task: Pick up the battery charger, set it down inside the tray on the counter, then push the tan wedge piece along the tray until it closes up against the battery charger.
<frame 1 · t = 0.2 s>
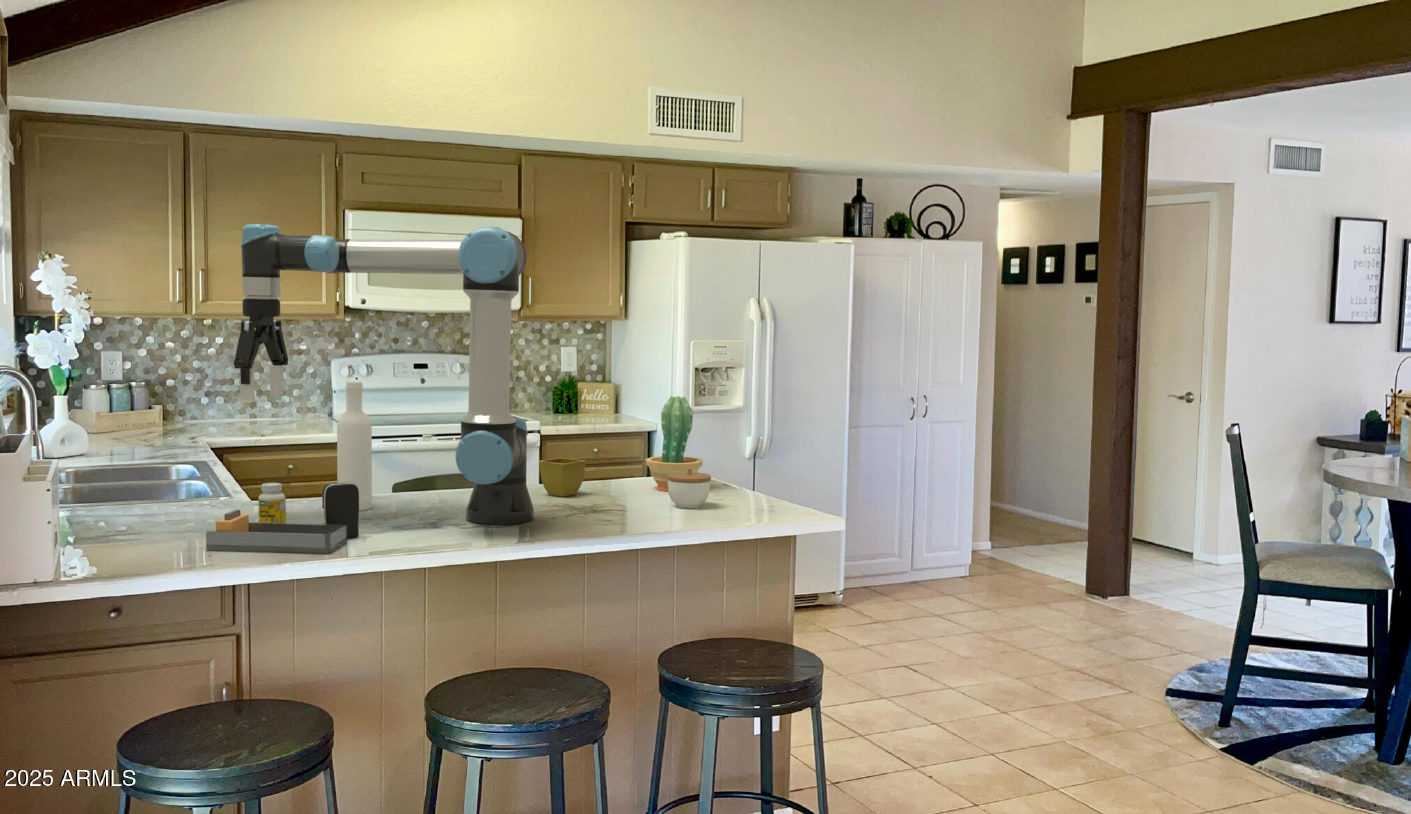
hand: (262, 397, 245), 28 cm above the worktop, fingers open, 13 cm apart
bottle: (354, 508, 269), on the worktop
flower pot: (561, 495, 294), on the worktop
lidded jar: (688, 507, 282), on the worktop
supplement bottle: (272, 529, 243), on the worktop
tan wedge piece: (232, 524, 226), point 4 cm above the worktop, slide at 0.0 cm
battery charger: (340, 538, 236), on the worktop
tray: (277, 546, 226), on the worktop
potted cactus: (673, 489, 307), on the worktop
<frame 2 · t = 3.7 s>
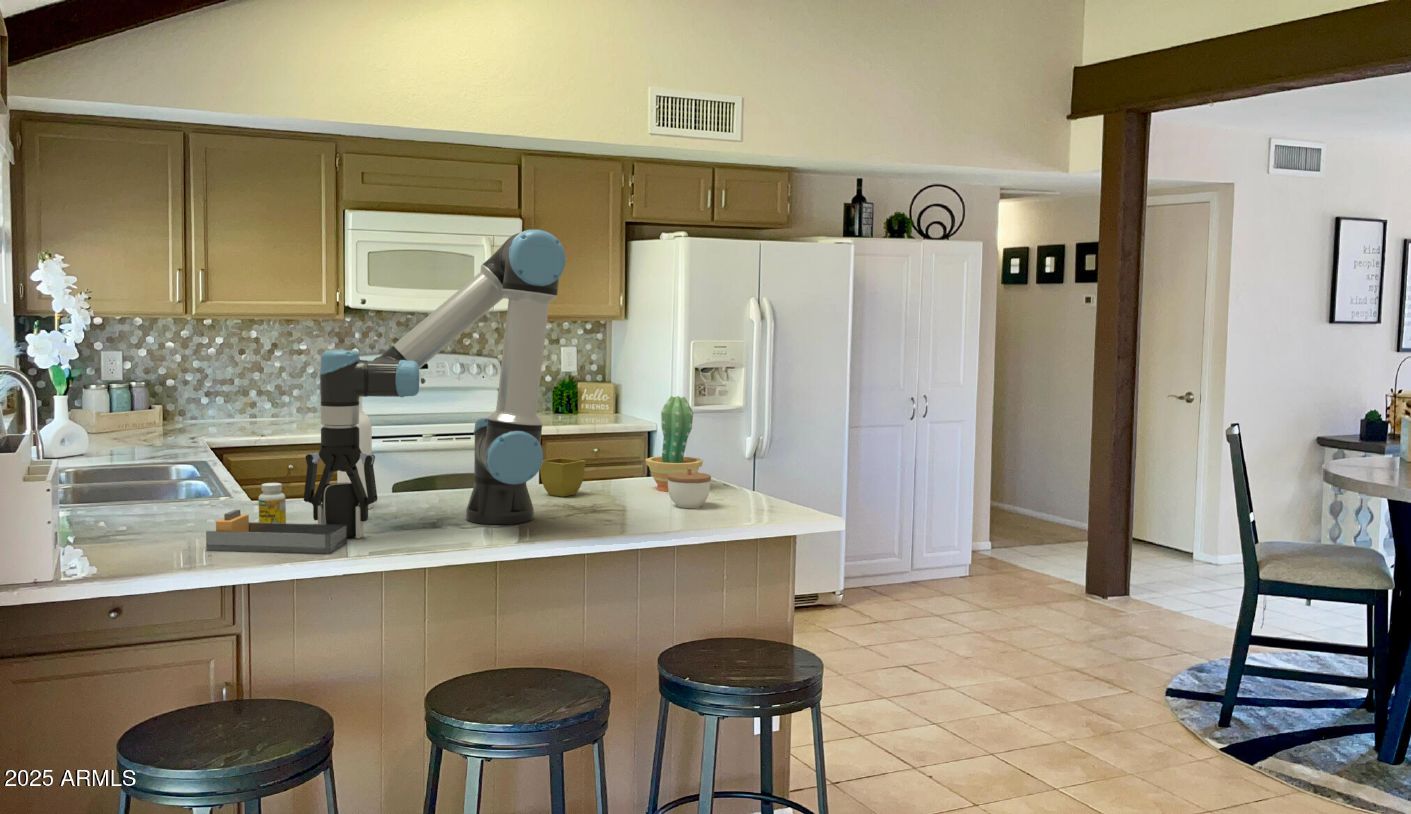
hand: (341, 536, 236), 0 cm above the worktop, fingers closed on battery charger, 7 cm apart
battery charger: (340, 538, 236), on the worktop, touching gripper
everything else where it was.
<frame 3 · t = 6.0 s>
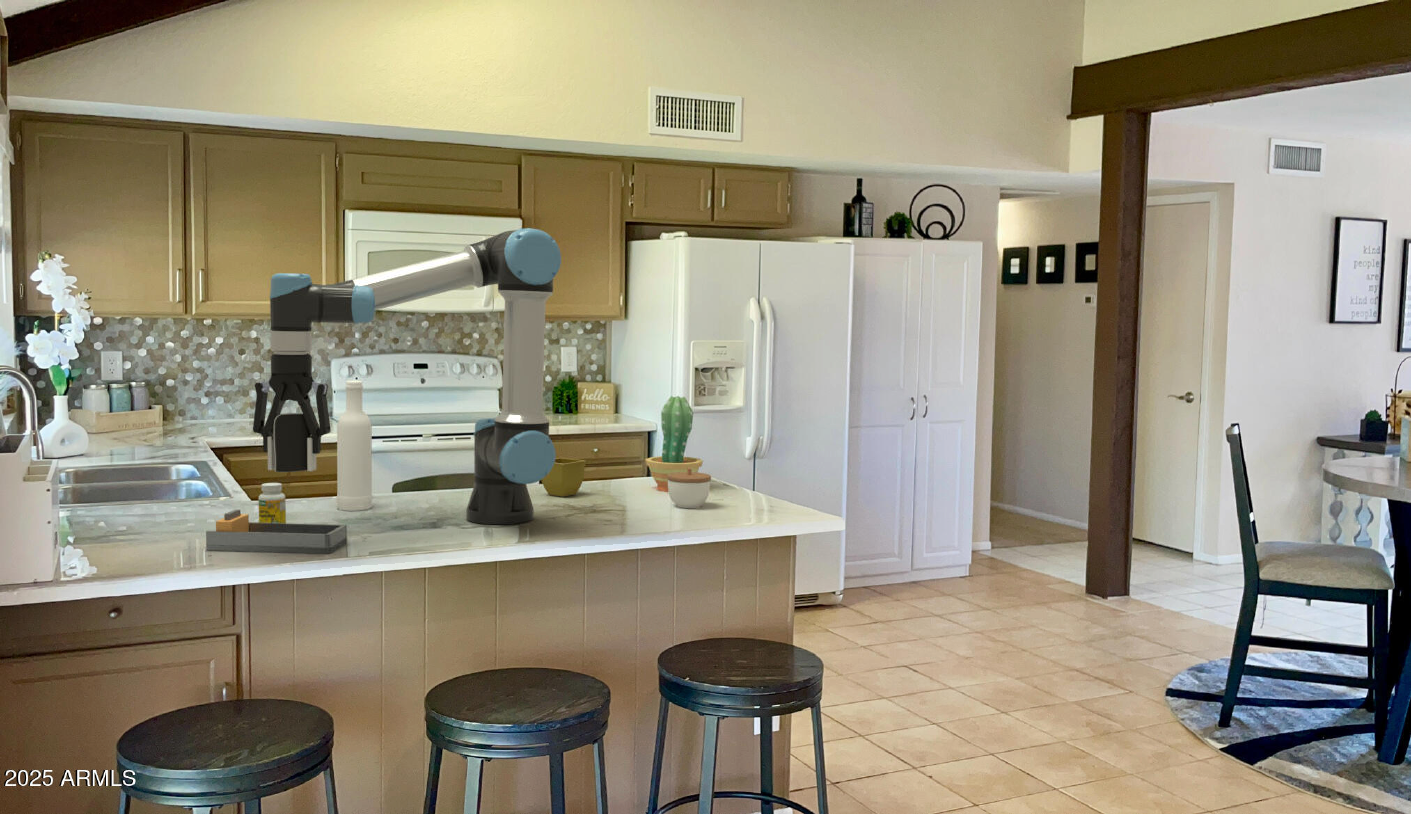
hand: (292, 469, 225), 15 cm above the worktop, fingers closed on battery charger, 7 cm apart
battery charger: (291, 471, 225), point 15 cm above the worktop, touching gripper
everything else where it was.
when the fingers open (3 cm above the worktop, at t = 8.6 s): battery charger drops 1 cm, resting on tray.
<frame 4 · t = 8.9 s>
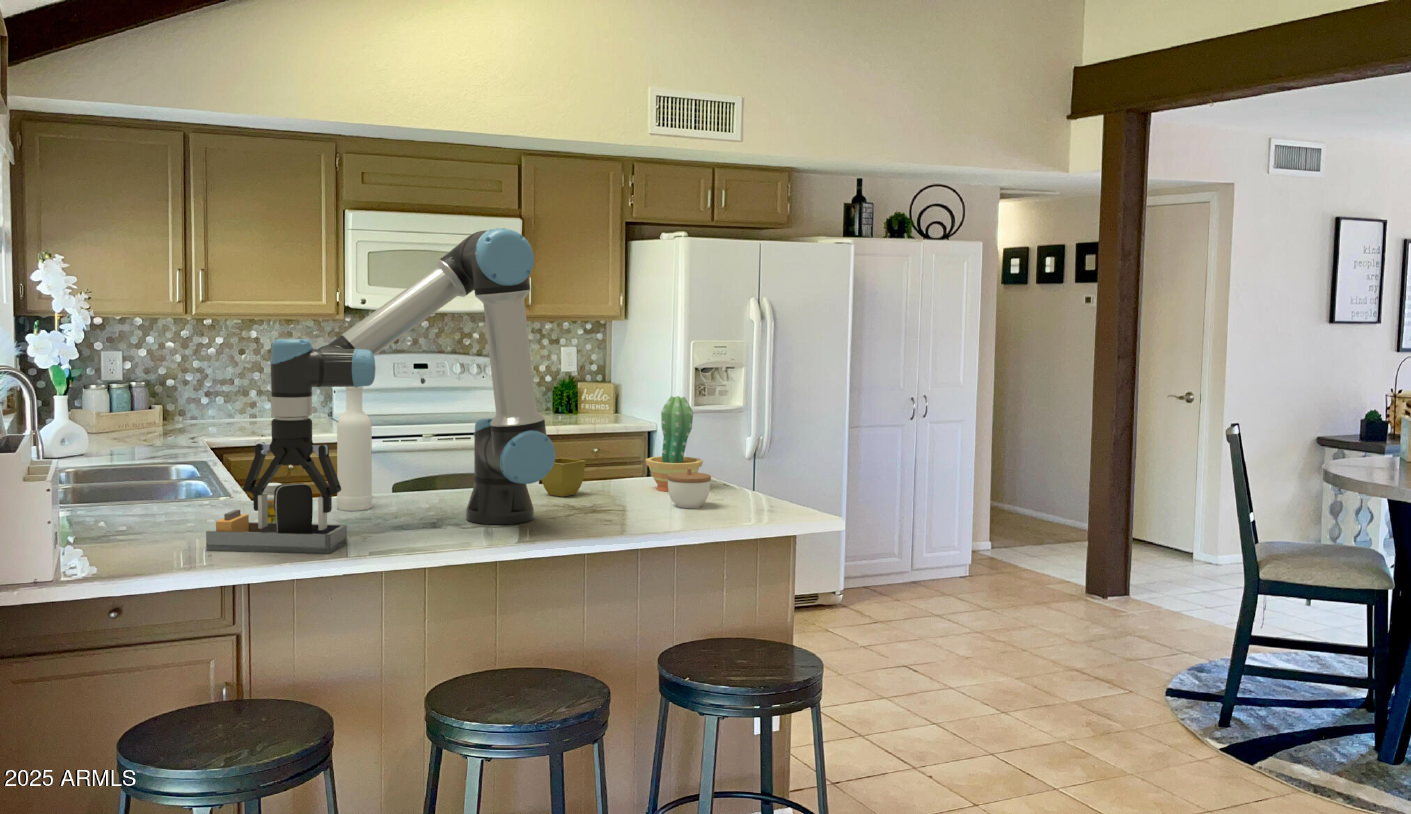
hand: (292, 528, 226), 4 cm above the worktop, fingers open, 11 cm apart
battery charger: (293, 541, 226), point 1 cm above the worktop, touching tray
everything else where it was.
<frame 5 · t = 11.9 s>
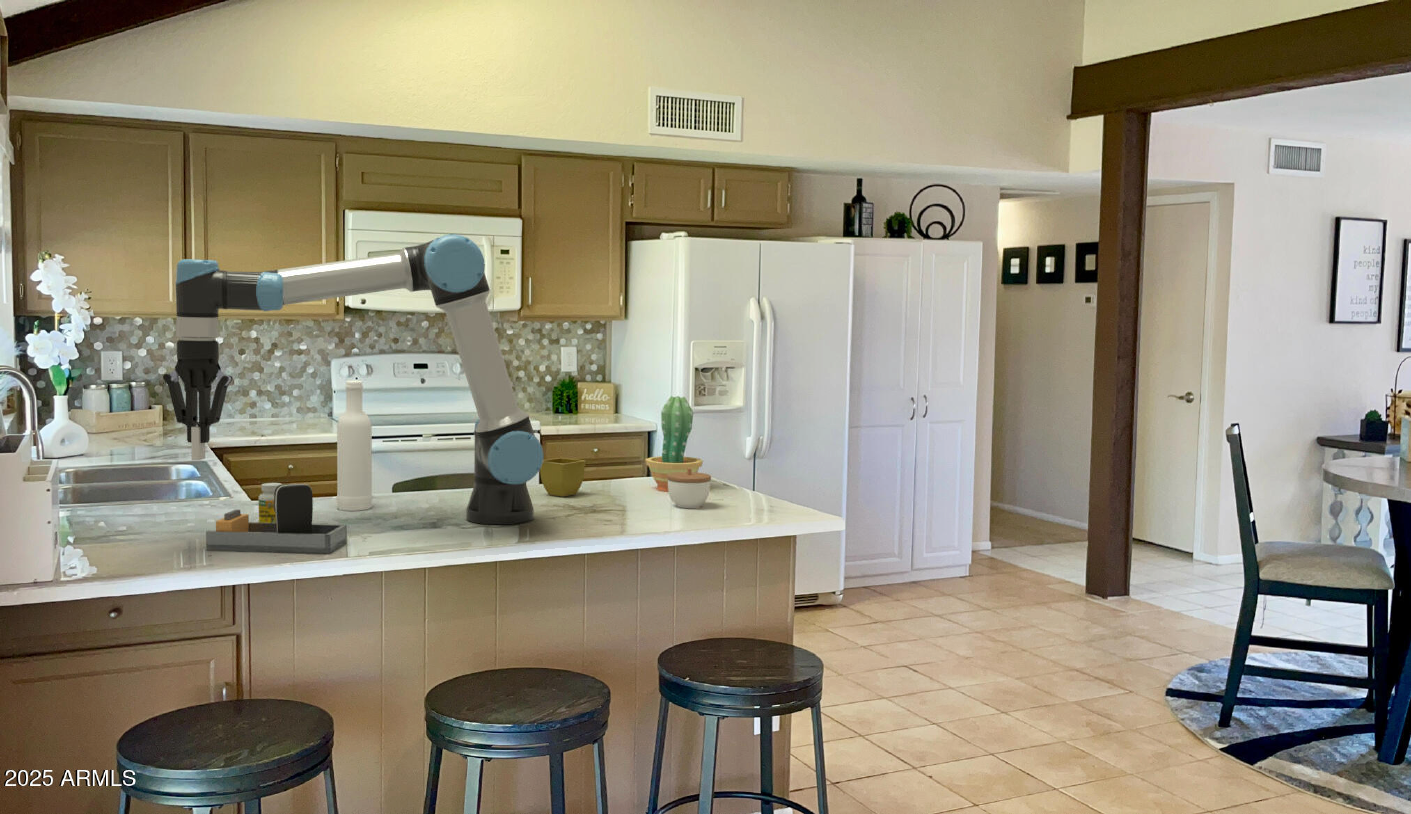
hand: (198, 459, 225), 17 cm above the worktop, fingers closed
nothing on the worktop moved.
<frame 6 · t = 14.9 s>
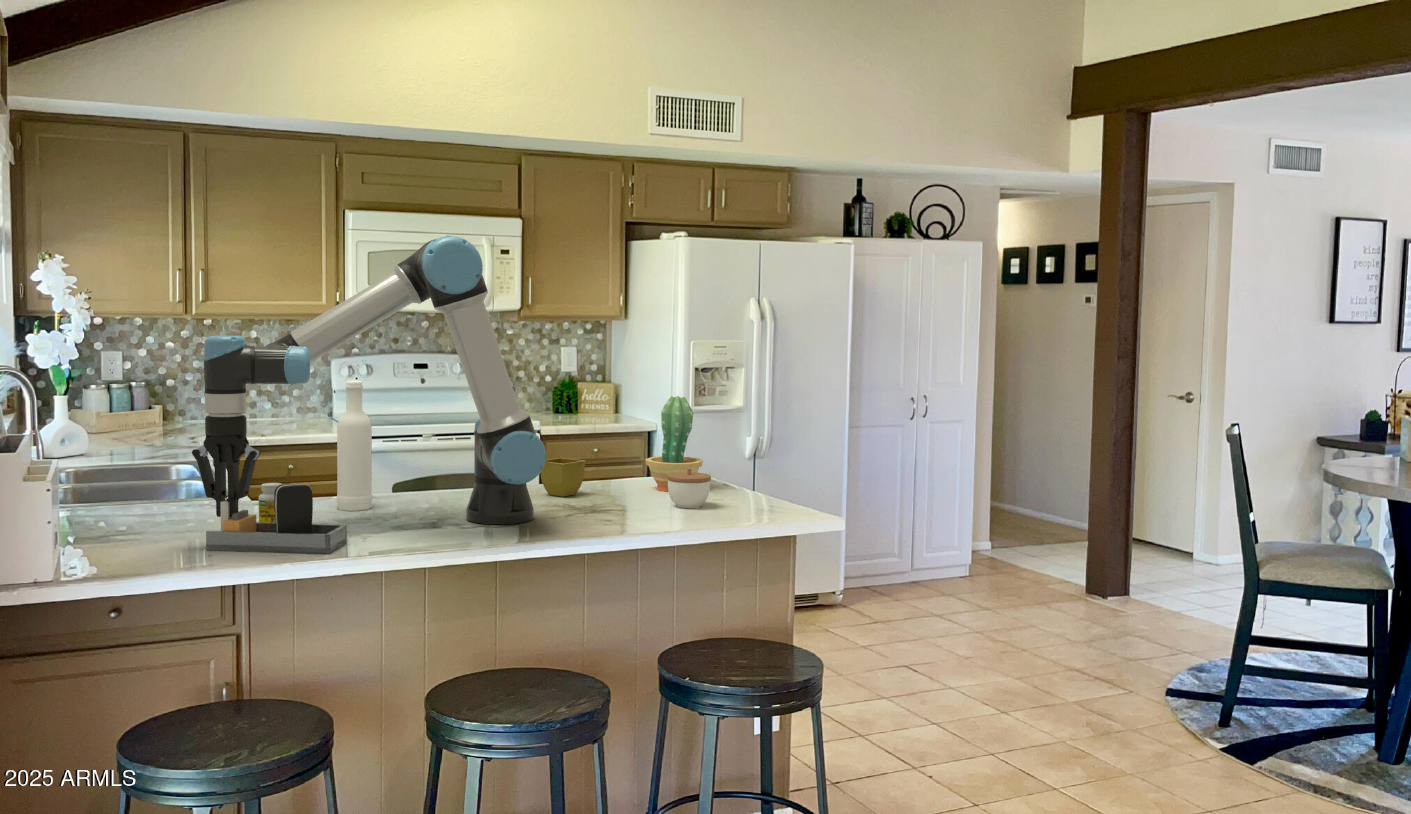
hand: (227, 532, 226), 2 cm above the worktop, fingers closed
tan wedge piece: (240, 525, 226), point 4 cm above the worktop, slide at 1.6 cm, touching gripper
everything else where it was.
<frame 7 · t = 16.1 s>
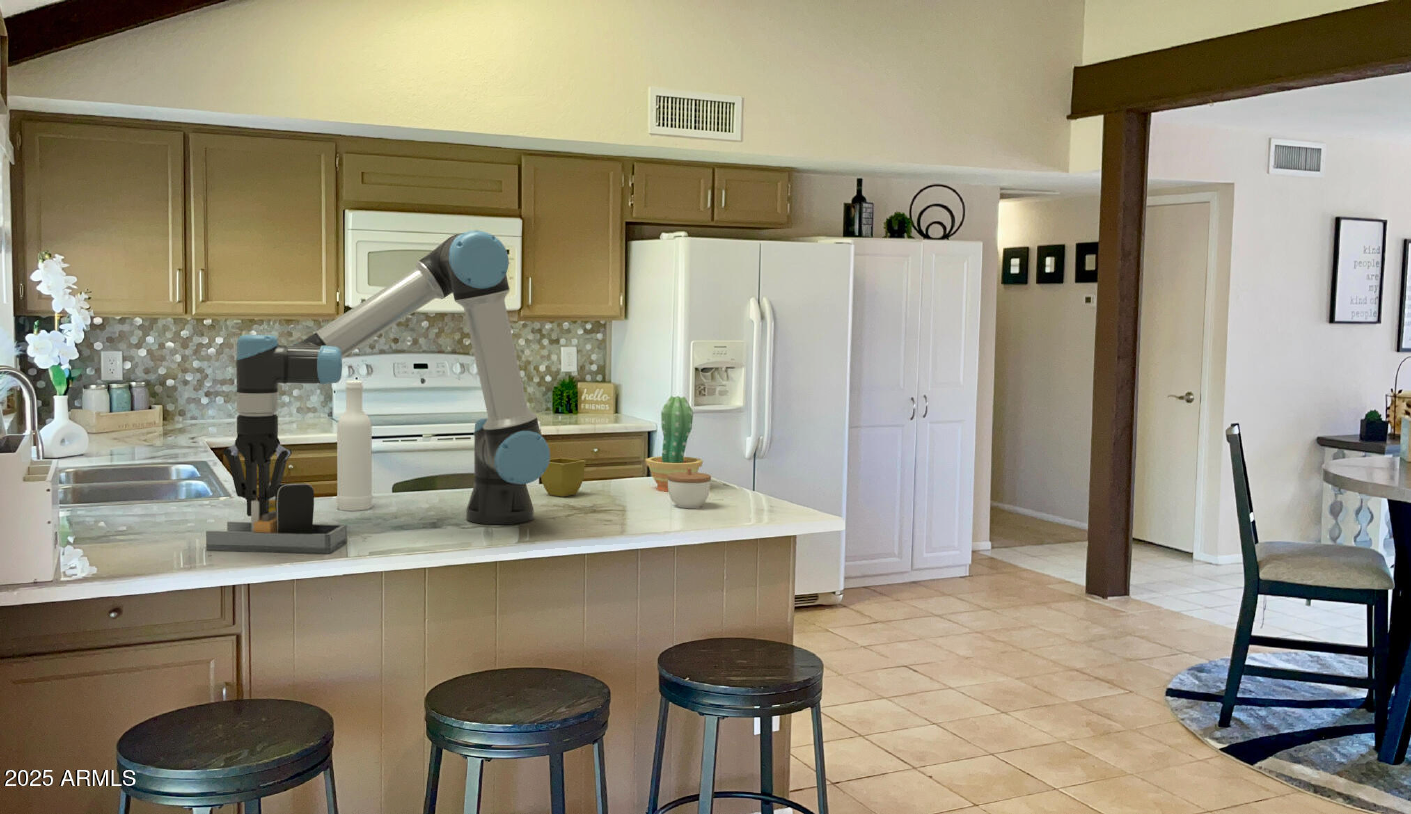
hand: (257, 532, 226), 3 cm above the worktop, fingers closed
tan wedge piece: (270, 525, 226), point 4 cm above the worktop, slide at 7.5 cm, touching gripper
battery charger: (293, 541, 226), point 1 cm above the worktop, touching hand, tray
everything else where it was.
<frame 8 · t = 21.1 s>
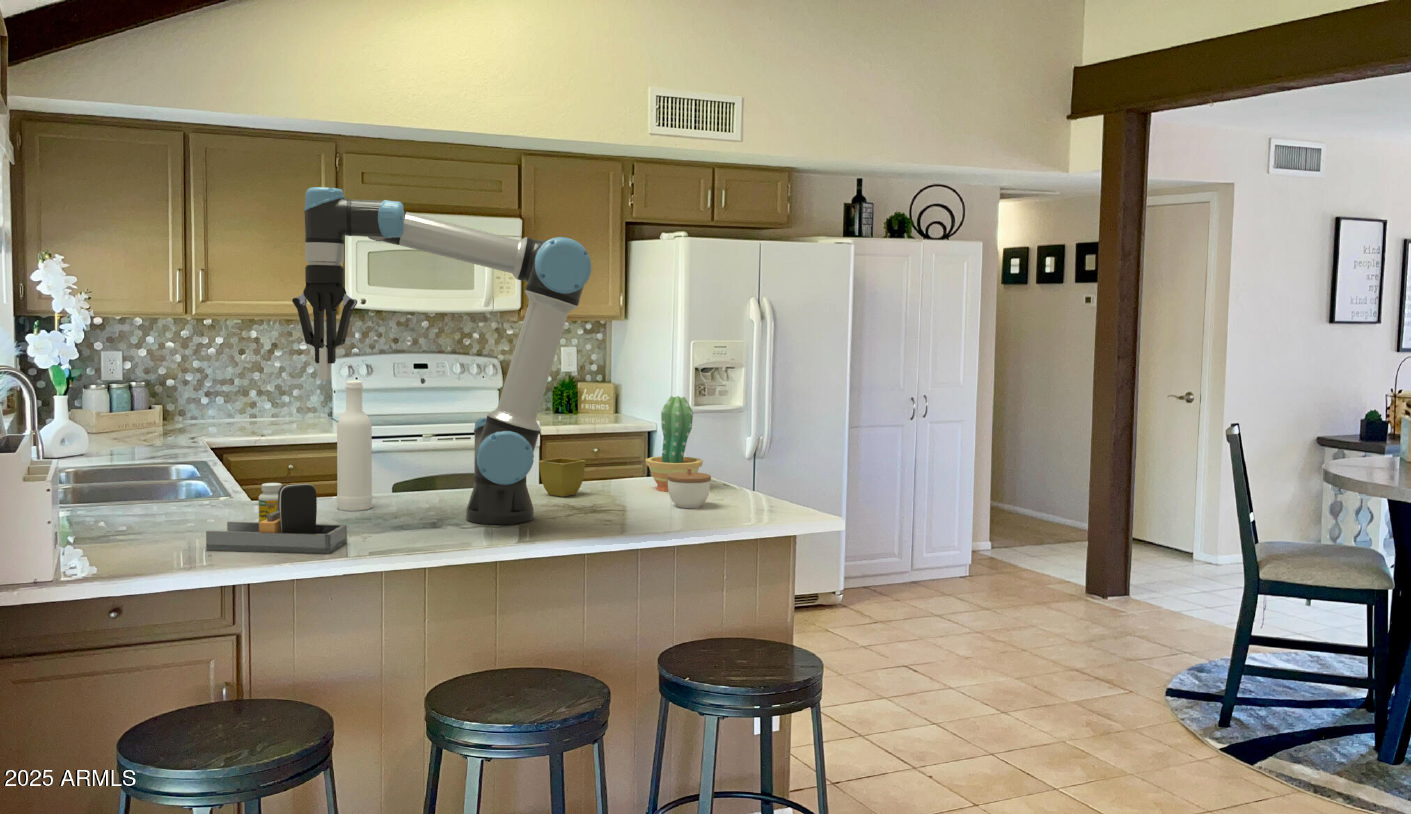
hand: (325, 379, 236), 32 cm above the worktop, fingers closed
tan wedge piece: (275, 526, 226), point 4 cm above the worktop, slide at 8.5 cm
battery charger: (297, 541, 226), point 1 cm above the worktop, touching tray
everything else where it was.
at the end: battery charger inside the target area on the tray (1.3 cm from its centre), point 1.0 cm above the tray's base; battery charger tilted 0°; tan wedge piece slide at 8.5 cm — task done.
